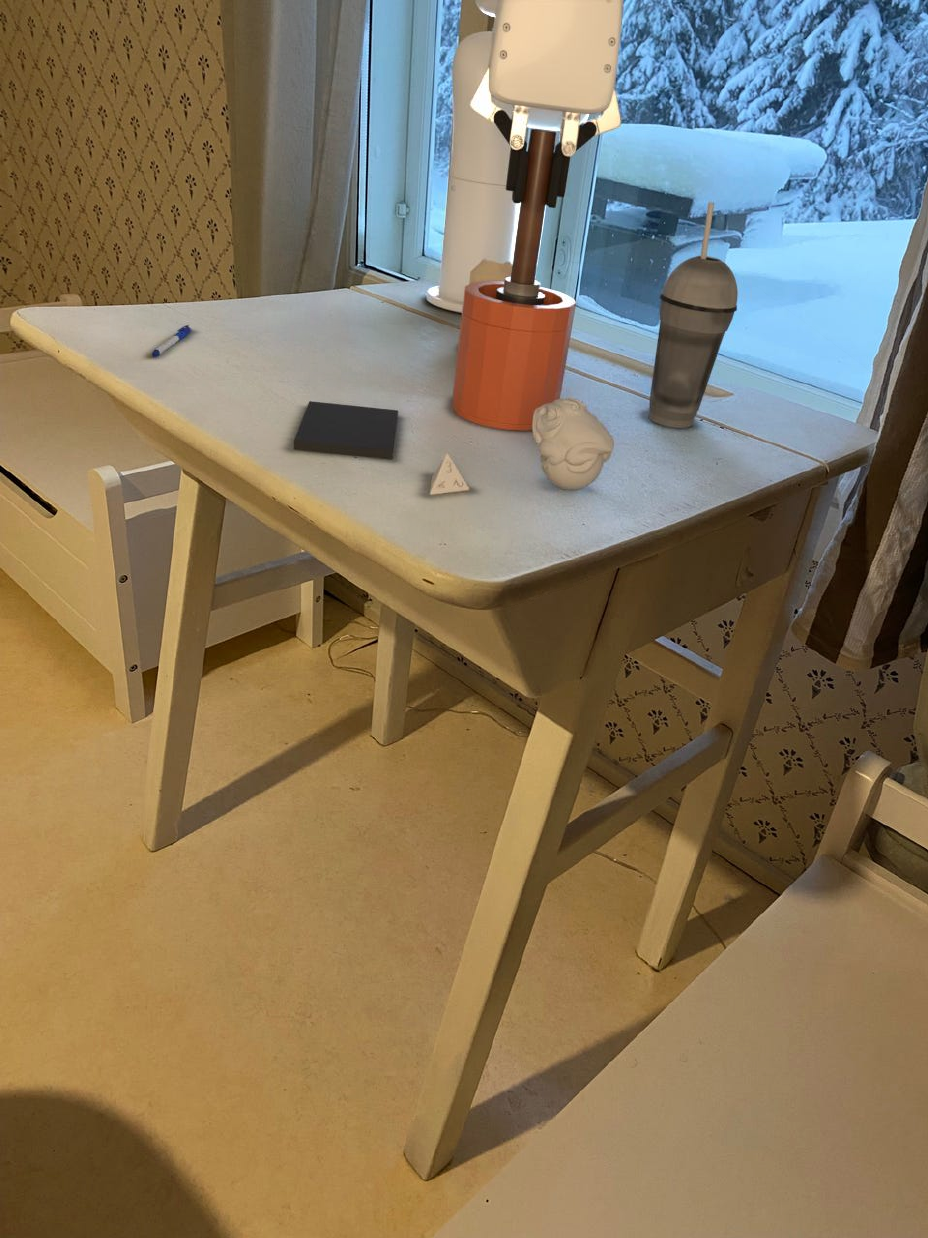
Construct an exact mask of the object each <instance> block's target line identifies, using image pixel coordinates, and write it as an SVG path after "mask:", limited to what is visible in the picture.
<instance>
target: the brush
mask: <svg viewBox="0 0 928 1238" xmlns="http://www.w3.org/2000/svg"><path fill="white" fill-rule="evenodd" d="M557 133H558V131H556V130H547V129H539V128H530V129H529V136H528V142H527V150H526V151H527V152H528V153H529V158H528V165H527V173H526V180H525V188H524V195H523V202H521V203H520V211H519V218H518V226H517V233H516V241H515V248H514V256H513V263H512V271H511V277H508V278H505V281H504V287H501V288H498V289H497V291H496V299H497V300H501V301H506V302H511V303H518V304H526V305H544V301H545V295H544V294H542V293H540V292H539V289H540V287H541V282H539V281H538V280H536V278H537V277H536V276H537V271H538V264H539V258H540V257H539V256H540V249H541V243H542V236H543V230H544V224H545V223H544V222H545V216H546V208H547V205H546V201H547V195H548V188H549V181H550V174H551V167H552V160H553V155H554V152H555V146H556V141H557Z"/></svg>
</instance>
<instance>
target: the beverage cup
mask: <svg viewBox="0 0 928 1238" xmlns="http://www.w3.org/2000/svg"><path fill="white" fill-rule="evenodd" d="M714 208H715V202H710V201H709V202H708V205H707V211H706V217H705V223H704V224H705V225H704V231H703V236H702V244H701V249H700V255H697V256H693V257H690V258H687V259H685V260H684V261H682V262H680V263H679V264H678V265H676V267H675V268H674V269H673V270H672V271H671V272H670V274H669V275H668V277H667V279H666V280H665V282H664V285H663V288H662V291H661V293H660V295H659V299H660V304H659V329H658V336H657V343H656V351H655V358H654V365H653V366H654V367H653V372H652V380H651V387H650V394H649V406H648V407H649V408H648V414H647V418H648V419H649V420H650V421H651V422H653V423H656V424H657V425H660V426H664V427H668V428H676V429H685V428H687V429H688V428H691V427H692V426H693V424H694V421H695V419H696V416H697V414H698V411H699V409H700V407H701V404H702V400H703V398H704V395H705V392H706V389H707V387H708V383H709V380H710V378H711V374H712V371H713V369H714V366H715V363H716V360H717V357H718V355H719V351H720V348H721V345H722V343H723V341H724V338H725V337H724V336H725V334H726V332H727V331H728V330H729V327H730V326H731V323H732V321H733V318H734V315H735V312H737V311H738V305H737V304H738V296H739V295H738V294H739V290H738V283H737V281H736V278H735V274H734V272H733V270H732V269H731V268H730V266H729V265H727V263H725V262H724V261H723V260H721V259H719V258H717V257H714V256H708V248H709V242H710V235H711V228H712V222H713V214H714Z"/></svg>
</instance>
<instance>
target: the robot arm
mask: <svg viewBox="0 0 928 1238" xmlns="http://www.w3.org/2000/svg"><path fill="white" fill-rule="evenodd" d="M474 1H475V5H476V7H477V8H478V9H479V10H480V11H481V12H482V13H484V15H485V14H486V15H488V16H490V17H494V20H493V26H492V30H491V31H490V30H486V31H478V32H473V33H471V34H469V35H467V36H465V38H463V39H462V40H461V41H460V42H459V44H457V47H456V49H455V51H454V55H453V59H452V69H451V86H452V88H451V89H452V138H451V139H452V140H451V157H450V167H449V177H448V187H447V198H446V200H447V201H446V206H445V207H446V209H445V220H444V227H443V239H442V249H441V260H440V271H439V281H438V285H436V286H433V287H430V288H428V289H427V291H426V301H428V303H430V304H431V305H433V306H435V307H438V308H441V309H443V310H446V311H451V312H455V313H461V314H462V309H463V300H464V290H465V286H466V285H469V280H470V272H471V271H472V270H473V269H474V268H475V267H476V266H477V265H478V264H479V263H480V262H481V261H482V260H483V259H486V260H488V261H495V262H497V263H501V264H504V263H505V262H509V263H511V264H512V263H513V256H514V248H515V241H516V233H517V226H518V218H519V211H520V203H521V202H523V195H524V188H525V180H526V173H527V165H528V158H529V153H528V152H527V151H528V142H527V141H526V135H527V128H530V129H532V128H533V129H543V130H550V131H556V132H558V131H559V135H558V143H557V144H555V148H554V155H553V160H552V167H551V174H550V181H549V188H548V195H547V201H546V207H548V208H551V209H556V207H557V203H558V202H557V200H558V198H564V197H565V195H566V189H567V182H568V175H569V170H570V162H571V157H572V156H574V155H575V154H576V152H577V151H578V150H579V149H581V148H582V147H583V146H584V145H586V143H588V142H589V141H590V140H591V139H592V138H593V137H595V136H599V135H603V134H605V133H608V132H611V131H613V130H616V129H618V128H620V127H621V126H622V116H621V110H620V106H619V101H618V96H617V92H616V86H615V85H616V78H617V72H618V63H619V54H620V47H621V46H620V45H621V36H622V24H623V14H624V13H623V12H624V11H623V9H624V0H474ZM596 114H599V115H598V116H596V117H594V118H593V117H592V118H591V119H588V118H589V116H590V115H596Z"/></svg>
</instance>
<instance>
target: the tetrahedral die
mask: <svg viewBox="0 0 928 1238" xmlns="http://www.w3.org/2000/svg"><path fill="white" fill-rule="evenodd" d="M430 481H431V482H430V490H429V494H430V496H434V495H441V494H449V493H451V494H452V493H459V492H466V491H470V487H469V486H468V484H467V482H466V481H465V479H464V477H463V475H462V474H461V472H460V471H459V468H458V467H457V465H456V464H455V462H454V460H453V459H452V457H451V455H450V453H448V452H447V453H445V455H444V456H443V458H442V460H441V462H440V463H439V465H438V466H437V468H436V470H435V471H434V472H433V474H432V476H431V480H430Z"/></svg>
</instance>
